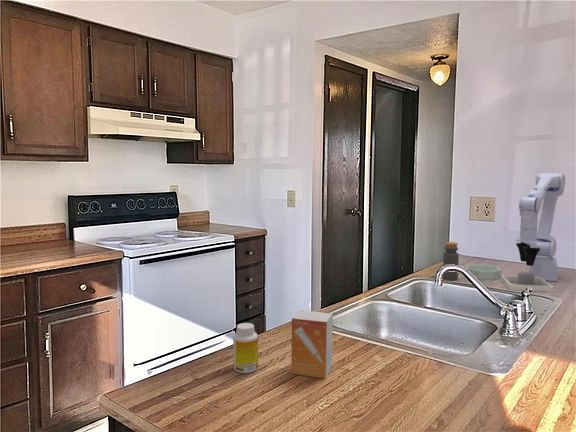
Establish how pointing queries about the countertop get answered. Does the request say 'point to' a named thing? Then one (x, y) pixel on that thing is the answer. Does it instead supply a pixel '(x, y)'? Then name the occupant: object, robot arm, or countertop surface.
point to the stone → (525, 278)
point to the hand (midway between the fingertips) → (526, 263)
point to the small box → (312, 343)
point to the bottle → (451, 260)
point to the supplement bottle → (245, 348)
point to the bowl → (484, 271)
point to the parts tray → (545, 287)
